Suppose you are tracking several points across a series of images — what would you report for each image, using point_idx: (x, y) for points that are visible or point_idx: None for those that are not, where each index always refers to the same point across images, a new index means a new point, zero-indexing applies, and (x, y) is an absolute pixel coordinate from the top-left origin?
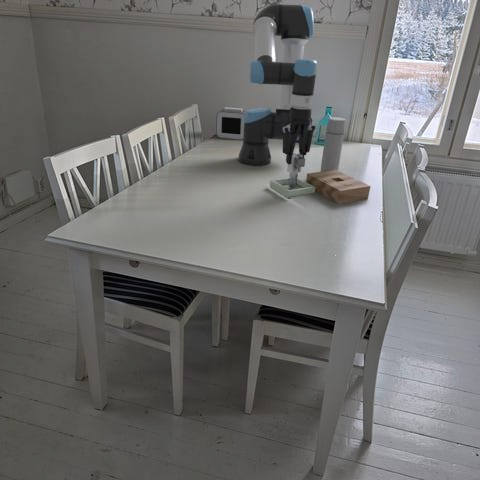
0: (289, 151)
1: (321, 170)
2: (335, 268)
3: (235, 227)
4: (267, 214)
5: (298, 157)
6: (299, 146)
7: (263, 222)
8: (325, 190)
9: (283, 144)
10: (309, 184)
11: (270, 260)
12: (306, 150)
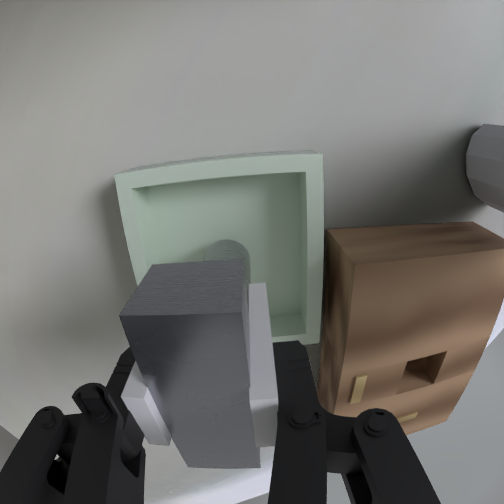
0: (110, 439)
1: (495, 156)
2: (157, 498)
3: (20, 395)
4: (75, 386)
5: (211, 446)
6: (269, 498)
7: (66, 407)
8: (327, 385)
9: (8, 484)
10: (316, 304)
11: None
12: (343, 469)
